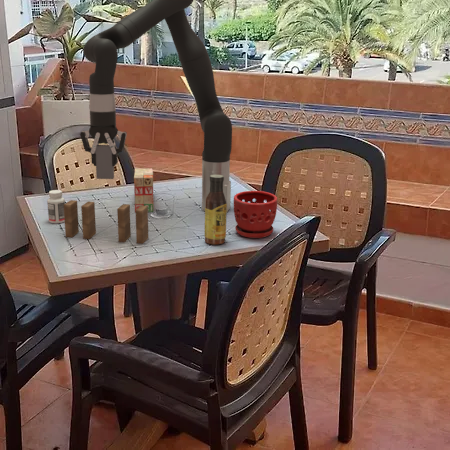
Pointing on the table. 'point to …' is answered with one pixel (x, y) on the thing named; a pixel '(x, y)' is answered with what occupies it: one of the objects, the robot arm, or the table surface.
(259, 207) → the plant pot
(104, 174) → the charcoal domino
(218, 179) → the sauce bottle
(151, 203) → the stack of blocks
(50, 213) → the pill bottle
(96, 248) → the table surface
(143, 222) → the walnut domino
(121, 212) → the walnut domino
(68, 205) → the walnut domino
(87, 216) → the walnut domino
